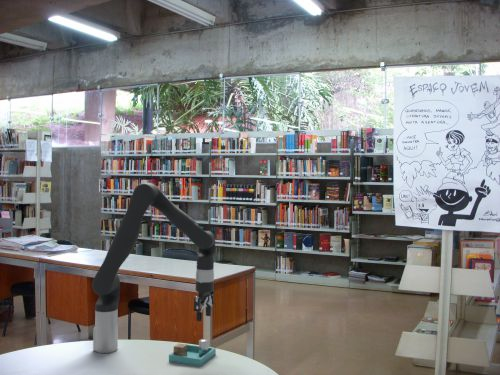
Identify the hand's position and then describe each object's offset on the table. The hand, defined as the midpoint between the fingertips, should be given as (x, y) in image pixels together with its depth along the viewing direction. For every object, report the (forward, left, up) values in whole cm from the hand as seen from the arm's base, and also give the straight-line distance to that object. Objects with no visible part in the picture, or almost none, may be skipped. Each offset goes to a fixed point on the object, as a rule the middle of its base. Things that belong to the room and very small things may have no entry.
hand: (203, 318), depth 209 cm
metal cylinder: (+1, -3, -14) cm, 15 cm away
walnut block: (-6, -9, -14) cm, 18 cm away
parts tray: (-2, -6, -15) cm, 16 cm away
